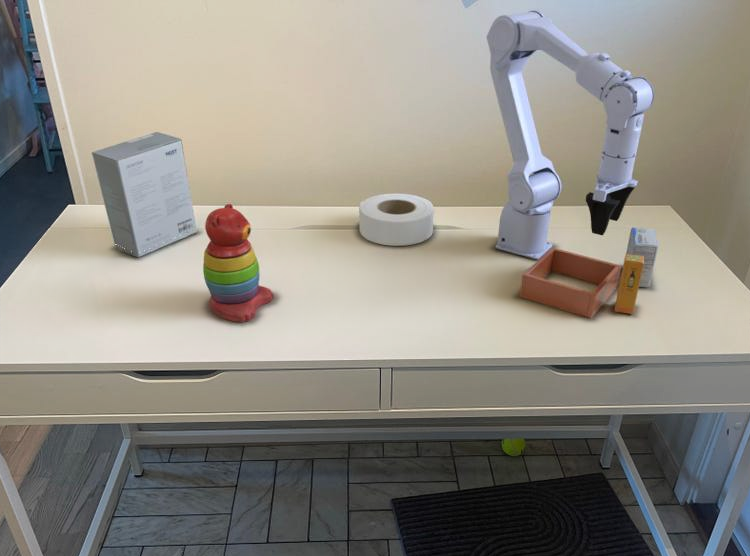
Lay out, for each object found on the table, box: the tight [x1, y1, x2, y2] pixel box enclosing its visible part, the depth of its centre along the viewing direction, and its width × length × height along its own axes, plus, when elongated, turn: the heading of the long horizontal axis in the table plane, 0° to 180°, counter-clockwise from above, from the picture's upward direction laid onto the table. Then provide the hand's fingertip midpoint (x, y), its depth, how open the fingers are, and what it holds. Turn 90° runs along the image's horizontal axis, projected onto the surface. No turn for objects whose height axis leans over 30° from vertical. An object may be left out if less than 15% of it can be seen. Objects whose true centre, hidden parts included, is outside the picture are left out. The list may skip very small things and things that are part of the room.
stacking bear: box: [202, 203, 275, 323], centre depth 121 cm, size 11×10×18 cm
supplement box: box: [614, 253, 644, 315], centre depth 124 cm, size 3×3×10 cm
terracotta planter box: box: [519, 246, 622, 319], centre depth 131 cm, size 14×14×4 cm
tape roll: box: [358, 193, 435, 247], centre depth 151 cm, size 16×16×6 cm
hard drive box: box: [91, 131, 198, 258], centre depth 142 cm, size 16×8×20 cm, turn 144°
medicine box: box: [625, 227, 659, 289], centre depth 134 cm, size 8×4×9 cm, turn 168°
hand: (605, 226), depth 131 cm, fingers open, 7 cm apart
